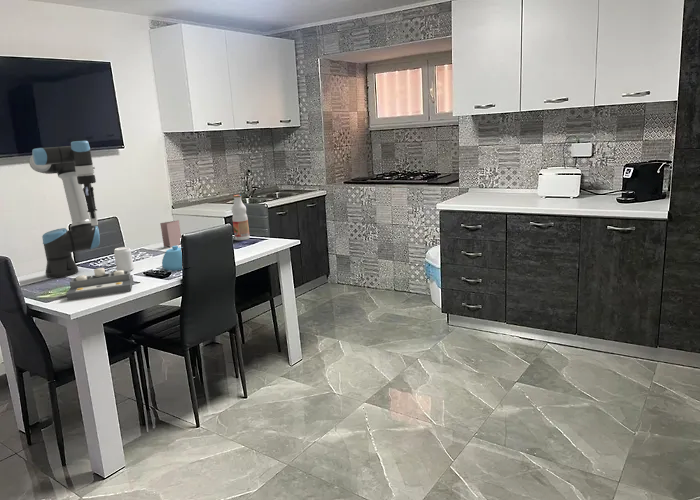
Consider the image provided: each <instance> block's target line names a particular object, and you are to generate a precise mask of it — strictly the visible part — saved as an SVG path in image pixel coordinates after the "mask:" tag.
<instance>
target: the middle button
mask: <svg viewBox="0 0 700 500" xmlns="http://www.w3.org/2000/svg"><path fill="white" fill-rule="evenodd" d="M93 271H94V275H95V277H100V276H104V275H106V274H107V273H106V270H105V267H97V268H95V269H93Z"/></svg>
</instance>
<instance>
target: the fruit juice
mask: <svg viewBox="0 0 700 500" xmlns="http://www.w3.org/2000/svg"><path fill="white" fill-rule="evenodd" d="M242 197H243V196H242V194H234V195H233V197H232V198H233V200H234V201H233V205H232V206H231V213H232V225H233V234H234V235H233V236H234V240H235V241H247V240H249V239H250V228H249V219H248V214H247V207H246V205H245V204H244V203H243V201H242Z"/></svg>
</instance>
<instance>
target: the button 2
mask: <svg viewBox="0 0 700 500" xmlns="http://www.w3.org/2000/svg"><path fill="white" fill-rule="evenodd" d="M113 273H114V276H115V275H122V274H124V270H118V271H117V270H115V271H113Z"/></svg>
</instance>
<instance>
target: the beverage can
mask: <svg viewBox="0 0 700 500" xmlns="http://www.w3.org/2000/svg"><path fill="white" fill-rule="evenodd" d="M113 255H114V260H115V265H116V266H115V267H116V271H118V270H124V271H129V270H130V272H131V271H133V270H134V269H135V267H134V261H133V256H132V249H131V248H130V247H129V246H120V247H116V248H115V249H114V251H113Z"/></svg>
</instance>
